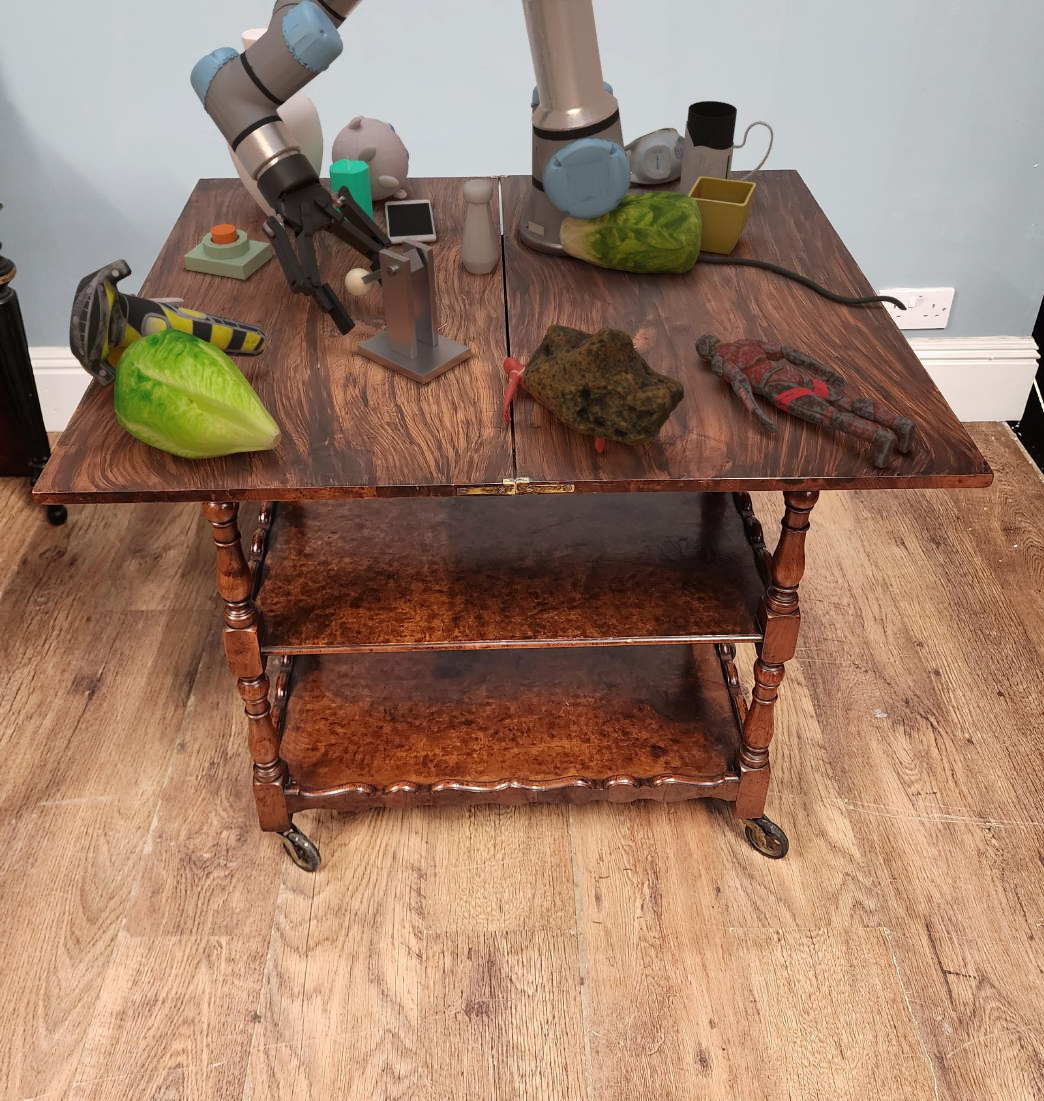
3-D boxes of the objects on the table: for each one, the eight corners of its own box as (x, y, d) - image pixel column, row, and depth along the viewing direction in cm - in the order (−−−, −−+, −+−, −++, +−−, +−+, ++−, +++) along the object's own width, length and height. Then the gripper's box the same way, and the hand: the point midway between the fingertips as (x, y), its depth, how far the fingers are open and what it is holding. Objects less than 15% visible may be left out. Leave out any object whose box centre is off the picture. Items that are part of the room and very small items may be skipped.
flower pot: (680, 254, 164) (685, 196, 158) (693, 231, 170) (699, 174, 164) (737, 263, 161) (745, 205, 156) (749, 239, 168) (757, 182, 162)
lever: (347, 303, 142) (335, 277, 141) (367, 293, 145) (355, 267, 143) (409, 279, 132) (396, 251, 131) (430, 269, 134) (417, 241, 133)
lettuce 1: (255, 511, 126) (223, 477, 114) (116, 434, 129) (71, 394, 118) (318, 413, 129) (292, 371, 117) (180, 341, 132) (142, 293, 121)
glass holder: (680, 189, 182) (689, 97, 172) (765, 198, 179) (779, 105, 169) (671, 210, 175) (680, 116, 166) (759, 220, 172) (773, 124, 163)
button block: (272, 256, 164) (268, 231, 161) (245, 280, 158) (240, 254, 155) (215, 247, 166) (210, 222, 164) (186, 269, 161) (180, 244, 158)
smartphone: (387, 241, 166) (384, 201, 177) (388, 245, 166) (384, 205, 177) (436, 238, 166) (430, 198, 178) (437, 242, 167) (430, 202, 178)
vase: (303, 244, 166) (275, 52, 148) (223, 229, 170) (187, 40, 152) (348, 208, 176) (327, 24, 158) (272, 195, 180) (243, 14, 162)
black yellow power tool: (305, 295, 130) (263, 284, 137) (87, 253, 112) (52, 243, 119) (286, 410, 133) (246, 394, 140) (71, 387, 115) (37, 370, 122)
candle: (368, 242, 167) (360, 165, 159) (331, 238, 168) (321, 162, 160) (379, 225, 172) (372, 150, 164) (343, 222, 173) (335, 147, 165)
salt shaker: (485, 280, 158) (482, 194, 149) (452, 271, 160) (448, 185, 151) (506, 265, 161) (505, 179, 153) (474, 256, 164) (472, 171, 155)
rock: (620, 359, 109) (499, 301, 122) (608, 464, 115) (494, 398, 128) (709, 336, 116) (586, 284, 129) (694, 436, 122) (578, 376, 135)
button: (242, 237, 160) (240, 226, 159) (229, 247, 158) (227, 236, 157) (221, 233, 161) (219, 222, 160) (208, 243, 159) (205, 232, 158)
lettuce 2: (561, 244, 165) (560, 176, 157) (697, 245, 164) (703, 176, 156) (557, 288, 158) (557, 219, 149) (700, 289, 156) (707, 219, 148)
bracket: (357, 353, 142) (345, 248, 132) (405, 327, 147) (397, 223, 138) (423, 385, 136) (415, 277, 127) (471, 356, 142) (467, 250, 132)
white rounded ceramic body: (712, 133, 177) (700, 122, 186) (597, 132, 176) (590, 121, 184) (706, 187, 182) (695, 174, 190) (594, 187, 180) (587, 173, 189)
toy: (380, 112, 165) (377, 88, 177) (313, 151, 167) (314, 124, 179) (427, 195, 173) (420, 167, 185) (363, 231, 175) (360, 200, 187)
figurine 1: (664, 419, 131) (550, 349, 141) (667, 394, 128) (551, 325, 139) (569, 473, 123) (456, 395, 133) (571, 448, 120) (455, 371, 131)
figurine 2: (930, 436, 128) (732, 340, 144) (941, 401, 124) (737, 307, 141) (858, 487, 120) (658, 379, 137) (867, 451, 117) (662, 345, 134)
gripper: (329, 158, 149) (420, 298, 152) (202, 209, 137) (303, 360, 140) (352, 128, 143) (445, 274, 146) (221, 178, 131) (326, 337, 134)
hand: (376, 316), depth 143 cm, fingers open, 9 cm apart
